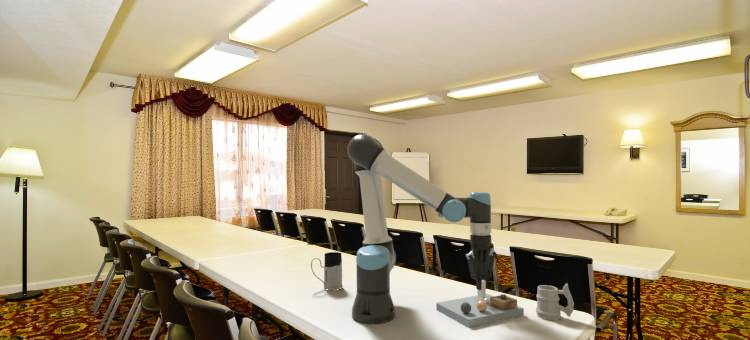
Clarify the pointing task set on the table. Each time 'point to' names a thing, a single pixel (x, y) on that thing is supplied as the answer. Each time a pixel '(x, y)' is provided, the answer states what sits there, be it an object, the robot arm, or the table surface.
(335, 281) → the glass holder
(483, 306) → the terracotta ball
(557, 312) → the mug
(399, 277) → the table surface
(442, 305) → the board
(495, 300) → the cover
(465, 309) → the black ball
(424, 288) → the table surface
